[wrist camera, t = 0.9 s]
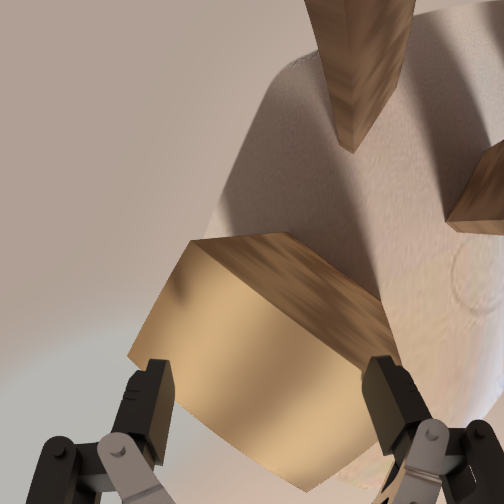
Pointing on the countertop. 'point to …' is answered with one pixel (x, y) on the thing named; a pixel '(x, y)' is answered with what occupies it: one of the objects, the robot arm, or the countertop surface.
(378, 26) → the walnut bridge
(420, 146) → the countertop surface
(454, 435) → the robot arm
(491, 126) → the countertop surface
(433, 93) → the countertop surface
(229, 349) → the oak block
